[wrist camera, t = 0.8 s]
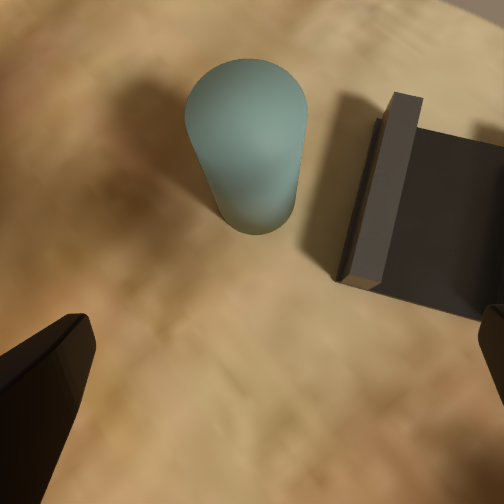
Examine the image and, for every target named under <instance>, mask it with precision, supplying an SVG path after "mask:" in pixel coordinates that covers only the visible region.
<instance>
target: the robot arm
mask: <svg viewBox="0 0 504 504" xmlns="http://www.w3.org/2000/svg"><path fill="white" fill-rule="evenodd" d="M478 342H479V345H480V348H481V350H482V353H483V356H484V358H485V361H486V363H487V366H488V368H489V371H490V373H491V376H492V378H493V381H494V383H495V386H496V389H497V391H498V394H499V396H500V398H501V401H502V403H503V405H504V304H490V305H488V306H487V307H486V308H485V311H484V314H483V318H482V321H481V325H480V328H479V332H478ZM95 351H96V340H95V336H94V333H93V330H92V326H91V323H90V320H89V317H88V316H87V315H86V314H84V313H75V314H67V315H65V316H64V317H62V318H60V319H59V320H57V321H56V322H54V323H52V324H51V325H49V326H48V327H46V328H44V329H43V330H41V331H40V332H38V333H36V334H35V335H33V336H32V337H30V338H28V339H27V340H25V341H24V342H22V343H20V344H19V345H17V346H16V347H14V348H12V349H11V350H9V351H8V352H6V353H4V354H3V355H1V356H0V504H41V501H42V499H43V496H44V494H45V491H46V489H47V487H48V484H49V482H50V479H51V477H52V474H53V472H54V469H55V467H56V465H57V462H58V460H59V457H60V455H61V452H62V450H63V447H64V445H65V443H66V440H67V438H68V435H69V433H70V430H71V428H72V425H73V423H74V420H75V418H76V415H77V413H78V410H79V407H80V404H81V400H82V397H83V393H84V390H85V386H86V383H87V379H88V376H89V372H90V369H91V365H92V362H93V358H94V355H95Z"/></svg>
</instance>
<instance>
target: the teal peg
mask: <svg viewBox="0 0 504 504" xmlns="http://www.w3.org/2000/svg"><path fill="white" fill-rule="evenodd" d="M307 118H308V107H307V101H306V98H305V95H304V92H303V90H302V88H301V87H300V85H299V84H298V82H297V81H296V80H295V79H294V77H293V76H292V75H290V74H289V73H288V72H287V71H286V70H284V69H283V68H281V67H279V66H277V65H275V64H273V63H270V62H267V61H263V60H259V59H238V60H233V61H229V62H226V63H223V64H221V65H219V66H217V67H215V68H213V69H212V70H210V71H209V72H207V73H206V74H205V75H204V76H203V77H202V78H201V79H200V80H199V81H198V82H197V83H196V85H195V86H194V87H193V89H192V91H191V93H190V95H189V97H188V100H187V103H186V107H185V126H186V130H187V133H188V136H189V138H190V141H191V143H192V145H193V148H194V150H195V153H196V155H197V158H198V160H199V162H200V165H201V167H202V170H203V172H204V174H205V177H206V179H207V182H208V184H209V186H210V189H211V191H212V194H213V196H214V199H215V201H216V203H217V206H218V208H219V211H220V213H221V215H222V217H223V218H224V220H225V221H226V222H227V223H228V224H229V225H230V226H231V227H232V228H234V229H235V230H237V231H239V232H242V233H245V234H249V235H262V234H267V233H270V232H272V231H274V230H276V229H278V228H279V227H281V226H282V225H283V224H284V223H285V222H286V221H287V220H288V218H289V217H290V215H291V213H292V211H293V208H294V204H295V198H296V191H297V184H298V178H299V171H300V165H301V158H302V151H303V145H304V138H305V131H306V125H307Z"/></svg>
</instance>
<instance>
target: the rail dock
mask: <svg viewBox="0 0 504 504" xmlns="http://www.w3.org/2000/svg"><path fill="white" fill-rule="evenodd" d="M422 102H423V98H420V97H416V96H411V95H407V94H402V93H398V92H394V94H393V96H392V98H391V100H390V102H389V104H388V106H387V108H386V110H385V112H384V114H383V116H382V118H381V119H379V118H377V119H376V122H375V126H374V130H373V134H372V138H371V142H370V146H369V150H368V153H367V157H366V161H365V165H364V169H363V173H362V177H361V181H360V185H359V189H358V193H357V197H356V201H355V205H354V209H353V213H352V217H351V221H350V225H349V229H348V233H347V237H346V241H345V245H344V249H343V253H342V257H341V261H340V265H339V269H338V273H337V277H336V281H335V282H337V283H341V284H345V285H348V286H352V287H356V288H359V289H363V290H366V291H370V292H374V293H377V294H381V295H385V296H388V297H392V298H396V299H399V300H403V301H406V302H410V303H414V304H417V305H421V306H425V307H428V308H432V309H435V310H439V311H443V312H446V313H450V314H454V315H457V316H461V317H464V318H468V319H472V320H475V321H479V322H481V321H482V318H483V314H484V311H485V308H486V307H487V306H488V305H490V304H504V147H501V146H496V145H492V144H488V143H483V142H479V141H474V140H470V139H466V138H461V137H457V136H453V135H448V134H444V133H440V132H435V131H431V130H426V129H422V128H418V127H417V124H418V119H419V115H420V111H421V106H422Z"/></svg>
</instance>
